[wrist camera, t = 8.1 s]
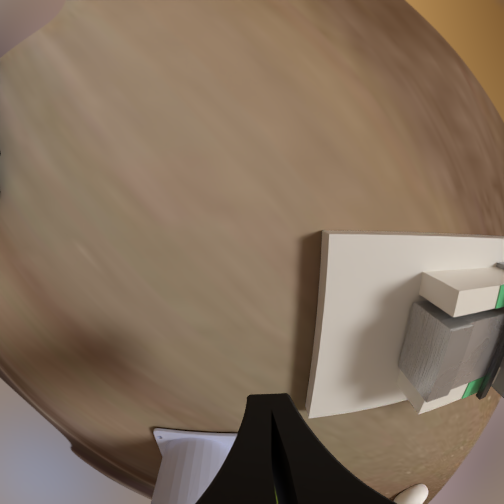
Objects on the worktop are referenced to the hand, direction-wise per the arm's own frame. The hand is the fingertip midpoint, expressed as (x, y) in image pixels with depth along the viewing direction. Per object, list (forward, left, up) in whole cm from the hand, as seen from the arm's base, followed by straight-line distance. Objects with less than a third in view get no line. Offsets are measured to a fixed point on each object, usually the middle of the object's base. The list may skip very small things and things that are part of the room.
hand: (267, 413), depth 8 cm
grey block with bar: (-2, -14, -8) cm, 16 cm away
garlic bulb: (-38, -26, -10) cm, 47 cm away
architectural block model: (-2, -14, -9) cm, 17 cm away
